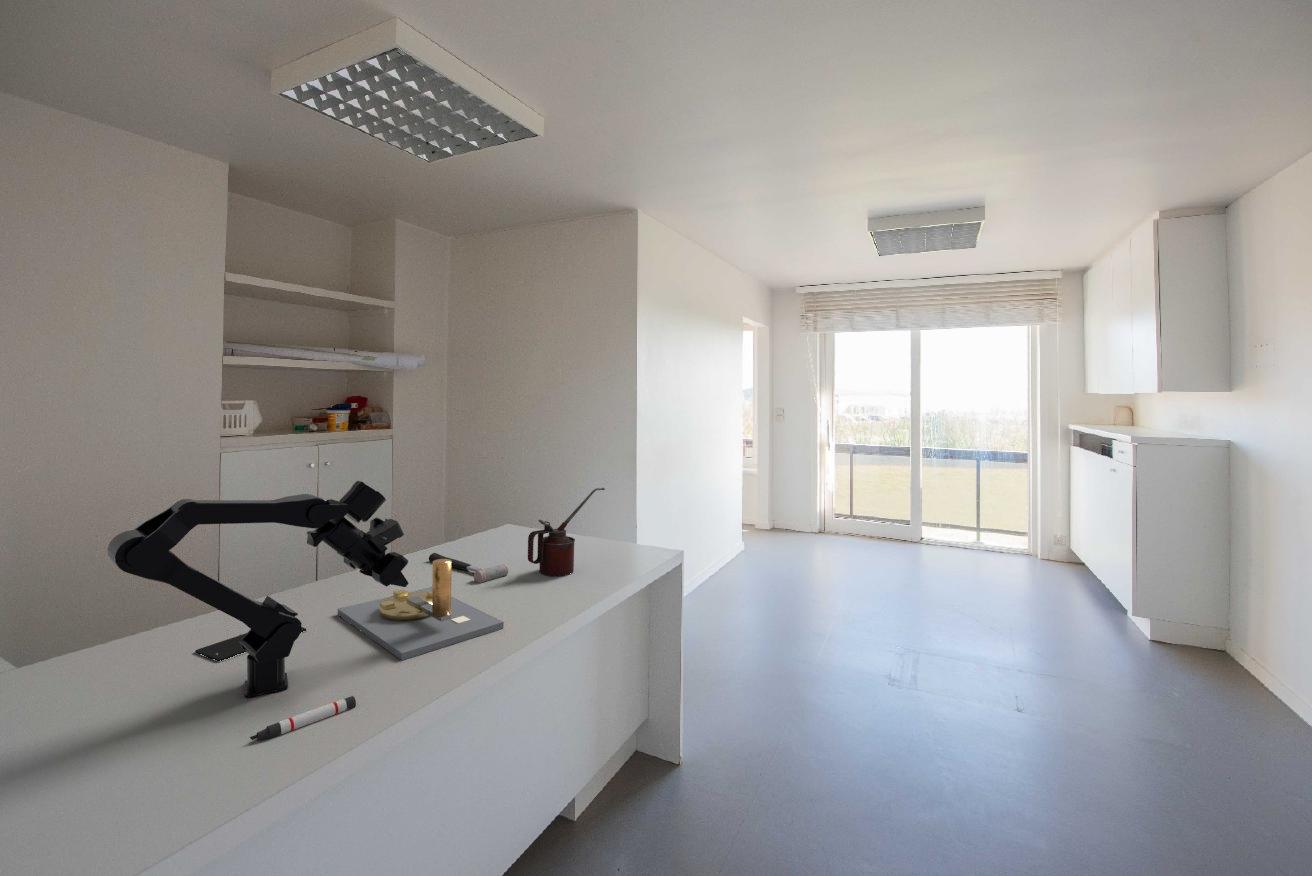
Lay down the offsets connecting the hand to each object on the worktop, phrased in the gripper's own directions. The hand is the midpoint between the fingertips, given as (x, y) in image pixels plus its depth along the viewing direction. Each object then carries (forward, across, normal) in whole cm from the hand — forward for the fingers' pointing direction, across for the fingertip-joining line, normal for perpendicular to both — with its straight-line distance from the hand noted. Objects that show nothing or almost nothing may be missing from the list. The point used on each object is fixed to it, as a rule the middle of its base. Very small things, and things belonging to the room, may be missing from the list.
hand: (402, 583), depth 125 cm
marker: (-8, -18, +27) cm, 34 cm away
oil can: (+54, +19, -34) cm, 66 cm away
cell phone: (-5, +23, +25) cm, 35 cm away
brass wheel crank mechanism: (+14, +9, +2) cm, 17 cm away
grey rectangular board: (+16, +10, +4) cm, 19 cm away
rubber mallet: (+37, +40, -16) cm, 57 cm away
